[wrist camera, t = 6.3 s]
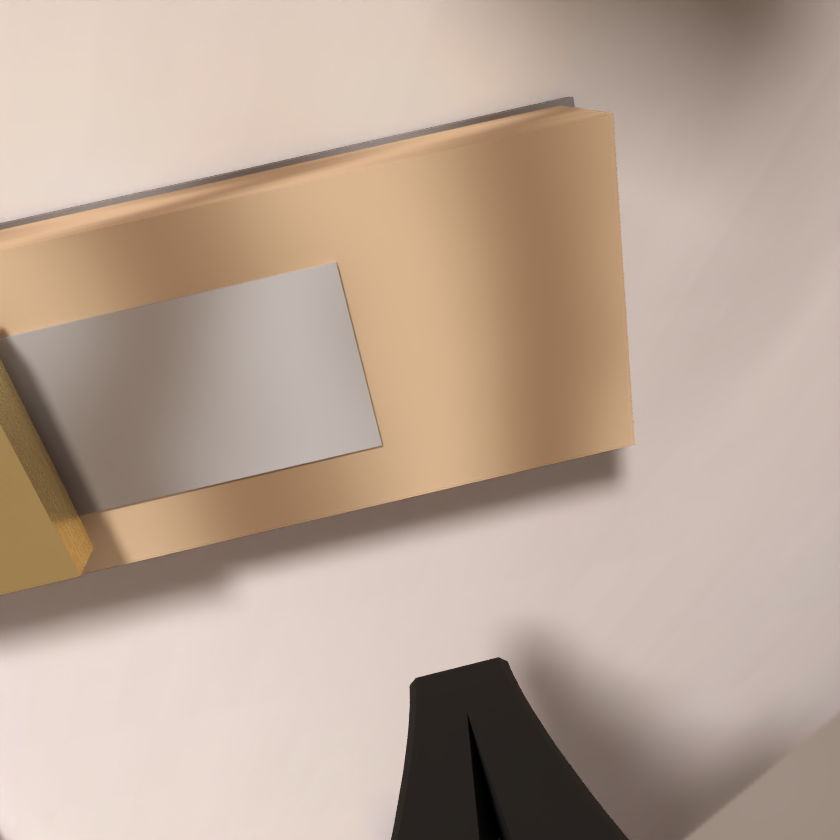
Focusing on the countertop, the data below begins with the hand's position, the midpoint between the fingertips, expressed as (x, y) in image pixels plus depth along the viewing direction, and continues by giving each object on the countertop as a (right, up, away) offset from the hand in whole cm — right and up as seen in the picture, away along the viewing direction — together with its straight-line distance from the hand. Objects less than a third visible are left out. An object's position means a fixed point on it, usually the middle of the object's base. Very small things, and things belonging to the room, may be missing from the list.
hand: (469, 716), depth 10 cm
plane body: (-5, +7, +7) cm, 11 cm away
